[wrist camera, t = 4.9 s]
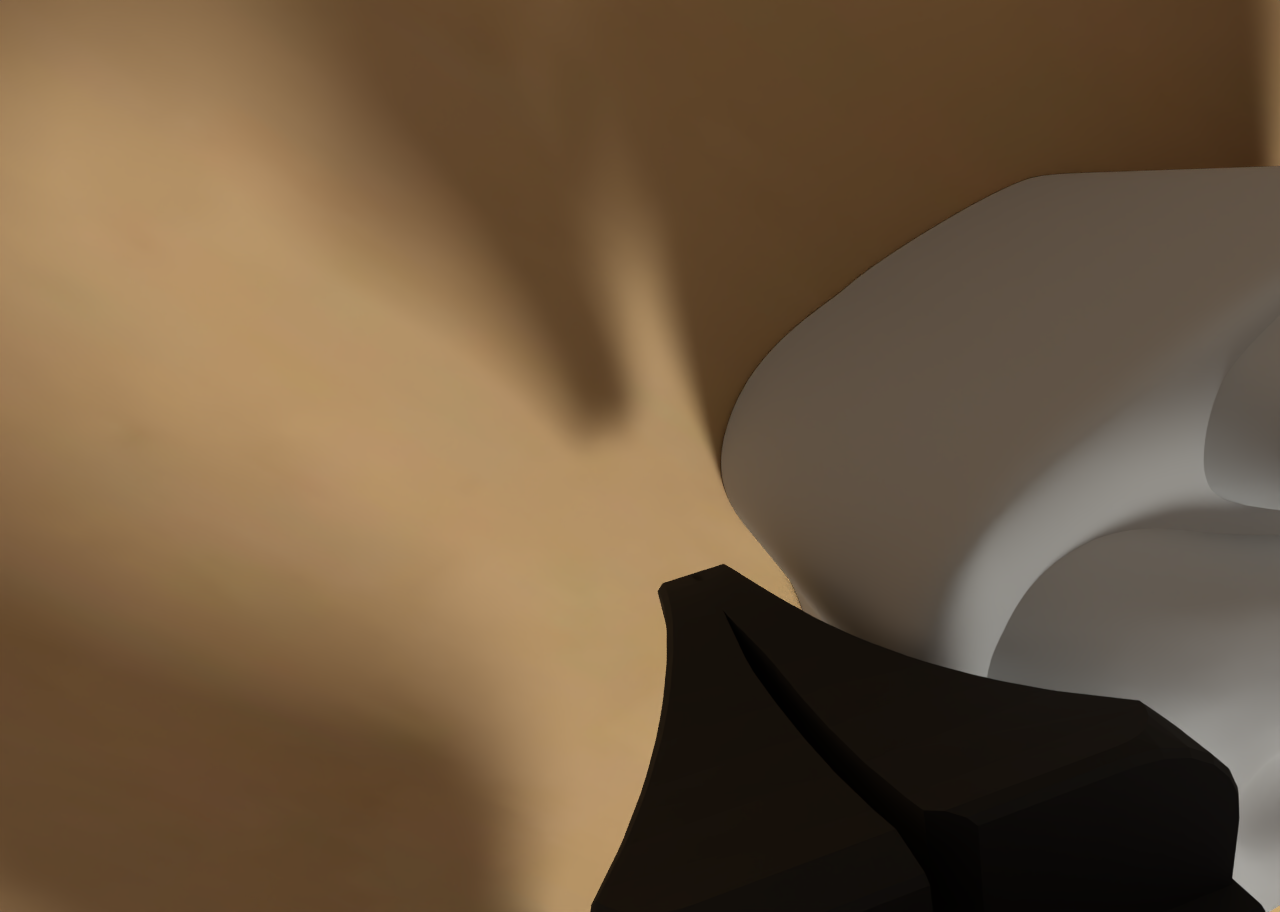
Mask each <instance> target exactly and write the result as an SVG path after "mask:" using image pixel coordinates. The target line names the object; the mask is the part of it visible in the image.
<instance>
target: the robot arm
mask: <svg viewBox="0 0 1280 912" xmlns="http://www.w3.org/2000/svg"><path fill="white" fill-rule="evenodd" d="M658 595H659V599H660V603H661V607H662V610H663V614H664V618H665V622H666V628H667V665H666V676H665V687H664V697H663V704H662V710H661V716H660V722H659V727H658V732H657V737H656V741H655V745H654V749H653V753H652V757H651V760H650V764H649V768H648V772H647V775H646V778H645V782H644V785H643V788H642V791H641V794H640V797H639V799H638V802H637V805H636V807H635V810H634V812H633V815H632V818H631V820H630V823H629V826H628V828H627V831H626V833H625V836H624V839H623V841H622V843H621V845H620V848H619V850H618V852H617V854H616V856H615V858H614V860H613V862H612V864H611V866H610V868H609V870H608V872H607V874H606V876H605V878H604V881H603V883H602V885H601V887H600V889H599V891H598V893H597V895H596V897H595V899H594V901H593V902H592V905H591V912H1266V911H1265V909H1264V908H1263V906H1262V905H1261V904H1260V903H1259V902H1258V901H1257V900H1256V899H1255V898H1254V897H1253V896H1251V895H1250V894H1249V893H1248V892H1247V891H1246V890H1245V889H1244V888H1243V887H1242V886H1240V885H1239V884H1238V883H1237V882H1236V881H1235V880H1234V879H1233V878H1232V877H1233V869H1234V860H1235V852H1236V844H1237V836H1238V828H1239V819H1240V816H1239V793H1238V787H1237V785H1236V782H1235V780H1234V778H1233V776H1232V774H1231V771H1230V769H1229V768H1228V767H1227V766H1226V765H1225V764H1223V763H1222V762H1221V761H1220V760H1219V759H1217V758H1216V757H1215V756H1214V755H1213V754H1211V753H1210V752H1209V751H1208V750H1206V749H1205V748H1204V747H1202V746H1201V745H1200V744H1199V743H1197V742H1196V741H1195V740H1193V739H1192V738H1191V737H1190V736H1188V735H1187V734H1186V733H1184V732H1183V731H1182V730H1181V729H1179V728H1178V727H1177V726H1176V725H1174V724H1173V723H1171V722H1170V721H1168V720H1167V719H1166V718H1164V717H1163V716H1161V715H1160V714H1159V713H1157V712H1156V711H1154V710H1153V709H1151V708H1150V707H1148V706H1147V705H1145V704H1144V703H1142V702H1141V701H1140V700H1132V699H1123V698H1114V697H1106V696H1097V695H1089V694H1080V693H1071V692H1063V691H1055V690H1049V689H1043V688H1038V687H1032V686H1027V685H1021V684H1016V683H1010V682H1005V681H1000V680H995V679H991V678H986V677H982V676H977V675H973V674H969V673H965V672H962V671H958V670H954V669H951V668H947V667H943V666H939V665H936V664H932V663H929V662H925V661H922V660H919V659H916V658H913V657H909V656H906V655H904V654H901V653H898V652H895V651H893V650H890V649H887V648H884V647H882V646H879V645H876V644H873V643H871V642H868V641H866V640H863V639H861V638H858V637H856V636H854V635H851V634H849V633H847V632H845V631H843V630H840V629H838V628H836V627H834V626H832V625H830V624H827V623H825V622H823V621H821V620H819V619H817V618H815V617H813V616H811V615H810V614H808V613H806V612H804V611H802V610H800V609H799V608H797V607H795V606H793V605H791V604H789V603H788V602H786V601H784V600H782V599H781V598H779V597H777V596H776V595H774V594H772V593H771V592H769V591H767V590H766V589H764V588H762V587H761V586H759V585H757V584H756V583H754V582H753V581H751V580H749V579H748V578H746V577H745V576H743V575H741V574H740V573H738V572H737V571H735V570H733V569H732V568H730V567H728V566H727V565H725V564H722V565H719V566H716V567H713V568H709V569H706V570H703V571H700V572H697V573H694V574H691V575H687V576H684V577H681V578H678V579H675V580H672V581H669V582H665V583H663V584H662V585H661V587H660V588H659V590H658Z"/></svg>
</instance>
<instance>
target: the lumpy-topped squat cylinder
mask: <svg viewBox="0 0 1280 912" xmlns="http://www.w3.org/2000/svg"><path fill="white" fill-rule="evenodd" d="M721 472H722V479H723V484H724V488H725V491H726V494H727V496H728V499H729V501H730V503H731V505H732V507H733V509H734V510H735V512H736V514H737V515H738V517H739V518H740V519H741V521H742V522H743V523H744V525H745V526H746V527H747V528H748V530H749V531H750V532H751V533H752V534H753V536H754V537H755V538H756V539H757V541H758V542H759V543H760V544H761V545H762V547H763V548H764V549H765V550H766V552H767V553H768V554H769V555H770V556H771V558H772V559H773V560H774V561H775V563H776V564H777V565H778V566H779V567H780V569H781V570H782V571H783V572H784V574H785V575H786V576H787V577H788V578H789V580H790V582H791V584H792V586H793V588H794V590H795V592H796V594H797V597H798V599H799V602H800V604H801V607H802V610H803V611H804V612H806V613H808V614H810V615H811V616H813V617H815V618H817V619H819V620H821V621H823V622H825V623H827V624H830V625H832V626H834V627H836V628H838V629H840V630H843V631H845V632H847V633H849V634H851V635H854V636H856V637H858V638H861V639H863V640H866V641H868V642H871V643H873V644H876V645H879V646H882V647H884V648H887V649H890V650H893V651H895V652H898V653H901V654H904V655H906V656H909V657H913V658H916V659H919V660H922V661H925V662H929V663H932V664H936V665H939V666H943V667H947V668H951V669H954V670H958V671H962V672H965V673H969V674H973V675H977V676H982V677H986V678H991V679H995V680H1000V681H1005V682H1010V683H1016V684H1021V685H1027V686H1032V687H1038V688H1043V689H1049V690H1055V691H1063V692H1071V693H1080V694H1089V695H1097V696H1106V697H1114V698H1123V699H1132V700H1140V701H1141V702H1142V703H1144V704H1145V705H1147V706H1148V707H1150V708H1151V709H1153V710H1154V711H1156V712H1157V713H1159V714H1160V715H1161V716H1163V717H1164V718H1166V719H1167V720H1168V721H1170V722H1171V723H1173V724H1174V725H1176V726H1177V727H1178V728H1179V729H1181V730H1182V731H1183V732H1184V733H1186V734H1187V735H1188V736H1190V737H1191V738H1192V739H1193V740H1195V741H1196V742H1197V743H1199V744H1200V745H1201V746H1202V747H1204V748H1205V749H1206V750H1208V751H1209V752H1210V753H1211V754H1213V755H1214V756H1215V757H1216V758H1217V759H1219V760H1220V761H1221V762H1222V763H1223V764H1225V765H1226V766H1227V767H1228V768H1229V769H1230V771H1231V774H1232V776H1233V778H1234V780H1235V782H1236V785H1237V787H1238V793H1239V816H1240V819H1239V828H1238V836H1237V844H1236V852H1235V860H1234V869H1233V877H1232V878H1233V879H1234V880H1235V881H1236V882H1237V883H1238V884H1239V885H1240V886H1242V887H1243V888H1244V889H1245V890H1246V891H1247V892H1248V893H1249V894H1250V895H1251V896H1253V897H1254V898H1255V899H1256V900H1257V901H1258V902H1259V903H1260V904H1261V905H1262V906H1263V908H1264V909H1265V911H1266V912H1270V911H1271V910H1273V909H1275V908H1276V907H1278V906H1279V905H1280V166H1266V167H1237V168H1208V169H1179V170H1150V171H1121V172H1092V173H1068V174H1054V175H1045V176H1038V177H1033V178H1030V179H1027V180H1024V181H1021V182H1018V183H1016V184H1013V185H1011V186H1009V187H1007V188H1005V189H1002V190H1000V191H998V192H996V193H994V194H992V195H990V196H988V197H986V198H984V199H983V200H981V201H979V202H977V203H975V204H973V205H971V206H970V207H968V208H966V209H964V210H962V211H961V212H959V213H957V214H955V215H954V216H952V217H950V218H948V219H947V220H945V221H943V222H942V223H940V224H938V225H937V226H935V227H933V228H932V229H930V230H928V231H927V232H925V233H923V234H922V235H920V236H919V237H917V238H915V239H914V240H912V241H911V242H909V243H908V244H906V245H904V246H903V247H901V248H900V249H898V250H897V251H895V252H894V253H892V254H891V255H889V256H888V257H886V258H885V259H883V260H882V261H880V262H879V263H877V264H876V265H875V266H873V267H872V268H870V269H869V270H868V271H866V272H865V273H864V274H862V275H861V276H860V277H858V278H857V279H856V280H854V281H853V282H852V283H851V284H850V285H848V286H847V287H846V288H845V289H844V290H842V291H841V292H840V293H839V294H837V295H836V296H835V297H834V298H832V299H831V300H830V301H828V302H827V303H826V304H824V305H823V306H822V307H820V308H819V309H818V310H816V311H815V312H814V313H812V314H811V315H810V316H808V317H807V318H806V319H805V320H803V321H802V322H801V323H800V324H798V325H797V326H796V327H795V328H794V329H793V330H791V331H790V332H789V333H788V334H787V335H786V336H785V337H784V338H783V339H782V340H781V341H780V342H779V343H778V344H777V345H776V346H775V347H774V348H773V349H772V350H771V351H770V352H769V353H768V354H767V356H766V357H765V358H764V359H763V360H762V362H761V363H760V364H759V365H758V367H757V368H756V369H755V371H754V372H753V374H752V375H751V377H750V378H749V380H748V381H747V383H746V385H745V386H744V388H743V390H742V392H741V394H740V396H739V397H738V400H737V402H736V404H735V406H734V409H733V411H732V413H731V416H730V419H729V422H728V425H727V428H726V432H725V436H724V441H723V446H722V455H721Z"/></svg>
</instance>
